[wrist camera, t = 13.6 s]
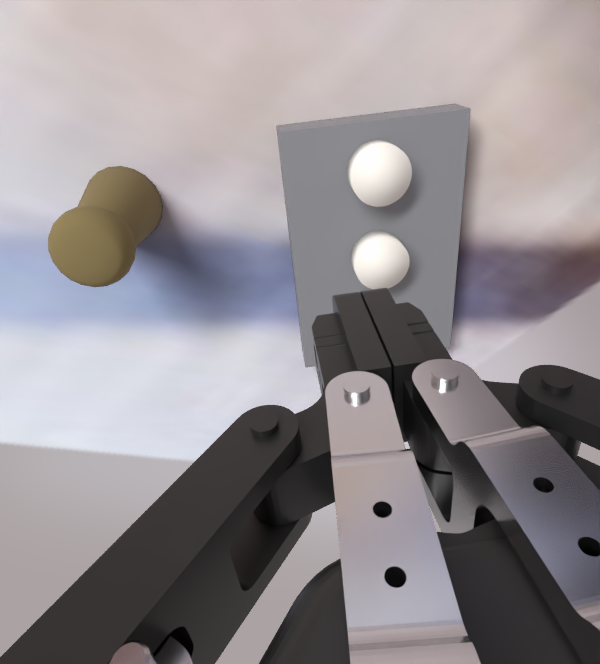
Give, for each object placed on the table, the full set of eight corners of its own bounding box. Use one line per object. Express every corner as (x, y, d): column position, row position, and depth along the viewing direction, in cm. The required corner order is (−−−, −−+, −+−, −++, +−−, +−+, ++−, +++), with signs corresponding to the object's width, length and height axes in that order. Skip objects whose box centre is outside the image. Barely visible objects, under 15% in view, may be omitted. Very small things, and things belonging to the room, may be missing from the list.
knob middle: (343, 222, 41) (354, 243, 37) (393, 215, 41) (410, 235, 37) (346, 268, 43) (356, 293, 39) (393, 262, 43) (408, 286, 39)
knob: (339, 136, 37) (350, 148, 33) (394, 129, 37) (412, 141, 33) (342, 192, 40) (353, 210, 35) (394, 185, 40) (411, 202, 36)
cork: (177, 215, 39) (156, 271, 30) (121, 252, 41) (83, 316, 31) (128, 150, 36) (87, 189, 27) (68, 192, 38) (9, 243, 28)
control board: (276, 125, 37) (278, 132, 34) (455, 103, 37) (470, 108, 34) (302, 349, 48) (305, 367, 45) (439, 331, 48) (450, 347, 46)
